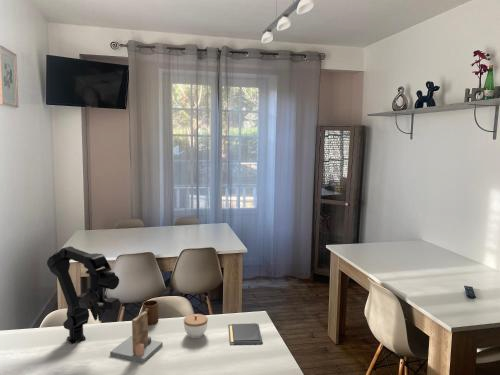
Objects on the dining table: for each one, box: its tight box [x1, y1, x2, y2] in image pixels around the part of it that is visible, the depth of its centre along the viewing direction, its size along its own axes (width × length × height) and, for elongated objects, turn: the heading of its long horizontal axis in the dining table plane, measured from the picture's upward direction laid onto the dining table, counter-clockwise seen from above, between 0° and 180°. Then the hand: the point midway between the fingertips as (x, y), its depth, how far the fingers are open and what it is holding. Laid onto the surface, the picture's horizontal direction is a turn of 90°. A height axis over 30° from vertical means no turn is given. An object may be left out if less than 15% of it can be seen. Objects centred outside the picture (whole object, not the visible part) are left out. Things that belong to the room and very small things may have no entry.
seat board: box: [109, 335, 163, 363], centre depth 163 cm, size 16×14×6 cm
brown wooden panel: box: [131, 311, 149, 354], centre depth 160 cm, size 9×2×14 cm, turn 163°
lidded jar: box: [183, 313, 209, 339], centre depth 176 cm, size 11×11×9 cm
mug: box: [141, 299, 159, 326], centre depth 187 cm, size 12×8×9 cm, turn 176°
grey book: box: [227, 322, 264, 346], centre depth 178 cm, size 20×2×15 cm
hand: (97, 320), depth 164 cm, fingers closed
